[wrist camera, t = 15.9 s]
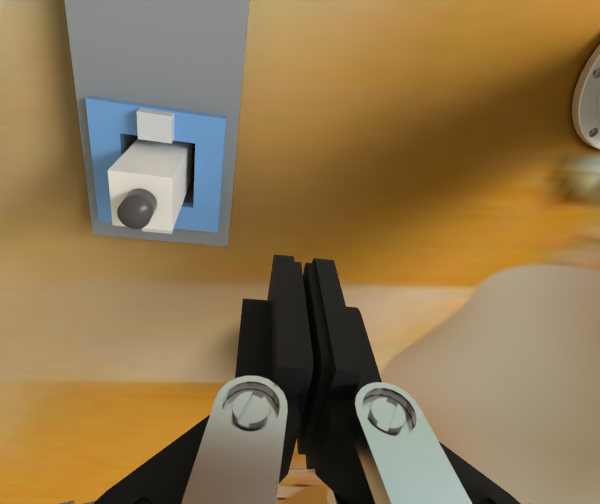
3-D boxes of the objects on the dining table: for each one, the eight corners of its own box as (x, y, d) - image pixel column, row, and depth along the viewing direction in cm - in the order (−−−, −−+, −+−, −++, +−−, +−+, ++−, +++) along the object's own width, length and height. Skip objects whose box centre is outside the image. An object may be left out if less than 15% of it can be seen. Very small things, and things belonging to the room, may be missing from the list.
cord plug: (192, 138, 33) (166, 189, 23) (191, 180, 35) (167, 245, 25) (144, 131, 33) (96, 181, 23) (146, 175, 35) (102, 239, 25)
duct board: (274, -286, 22) (279, -364, 17) (229, 232, 39) (226, 259, 34) (43, -367, 20) (-17, -479, 15) (103, 219, 37) (83, 247, 32)
